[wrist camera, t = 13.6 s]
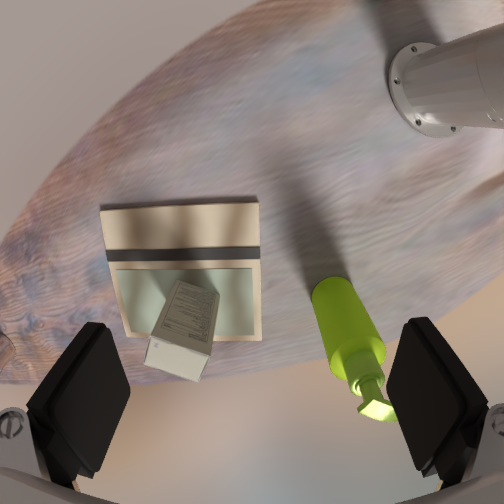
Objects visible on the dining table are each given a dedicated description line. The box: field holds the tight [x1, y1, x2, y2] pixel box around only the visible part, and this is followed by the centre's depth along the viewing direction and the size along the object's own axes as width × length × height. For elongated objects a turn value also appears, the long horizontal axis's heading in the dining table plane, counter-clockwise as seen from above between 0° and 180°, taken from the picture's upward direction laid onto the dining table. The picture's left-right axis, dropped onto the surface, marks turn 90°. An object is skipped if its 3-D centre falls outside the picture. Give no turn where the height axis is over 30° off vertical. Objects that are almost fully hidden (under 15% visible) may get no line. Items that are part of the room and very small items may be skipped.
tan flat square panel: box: [100, 202, 262, 341], centre depth 39 cm, size 20×19×1 cm
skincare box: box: [143, 280, 220, 383], centre depth 34 cm, size 6×4×12 cm
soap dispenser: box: [312, 277, 398, 422], centre depth 31 cm, size 6×7×20 cm
